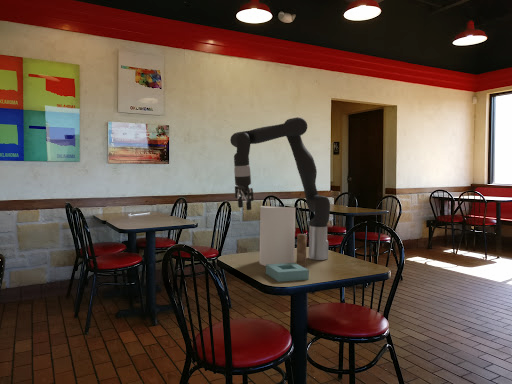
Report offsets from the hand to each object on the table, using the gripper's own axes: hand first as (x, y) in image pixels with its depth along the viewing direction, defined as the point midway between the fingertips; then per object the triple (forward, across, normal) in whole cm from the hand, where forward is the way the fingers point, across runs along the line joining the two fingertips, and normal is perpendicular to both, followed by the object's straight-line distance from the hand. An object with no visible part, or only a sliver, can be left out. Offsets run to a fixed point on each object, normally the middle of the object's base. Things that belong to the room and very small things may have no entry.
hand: (244, 208), depth 189 cm
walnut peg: (+29, -18, -18) cm, 39 cm away
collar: (+27, -28, -4) cm, 38 cm away
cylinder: (+29, -4, -13) cm, 32 cm away
